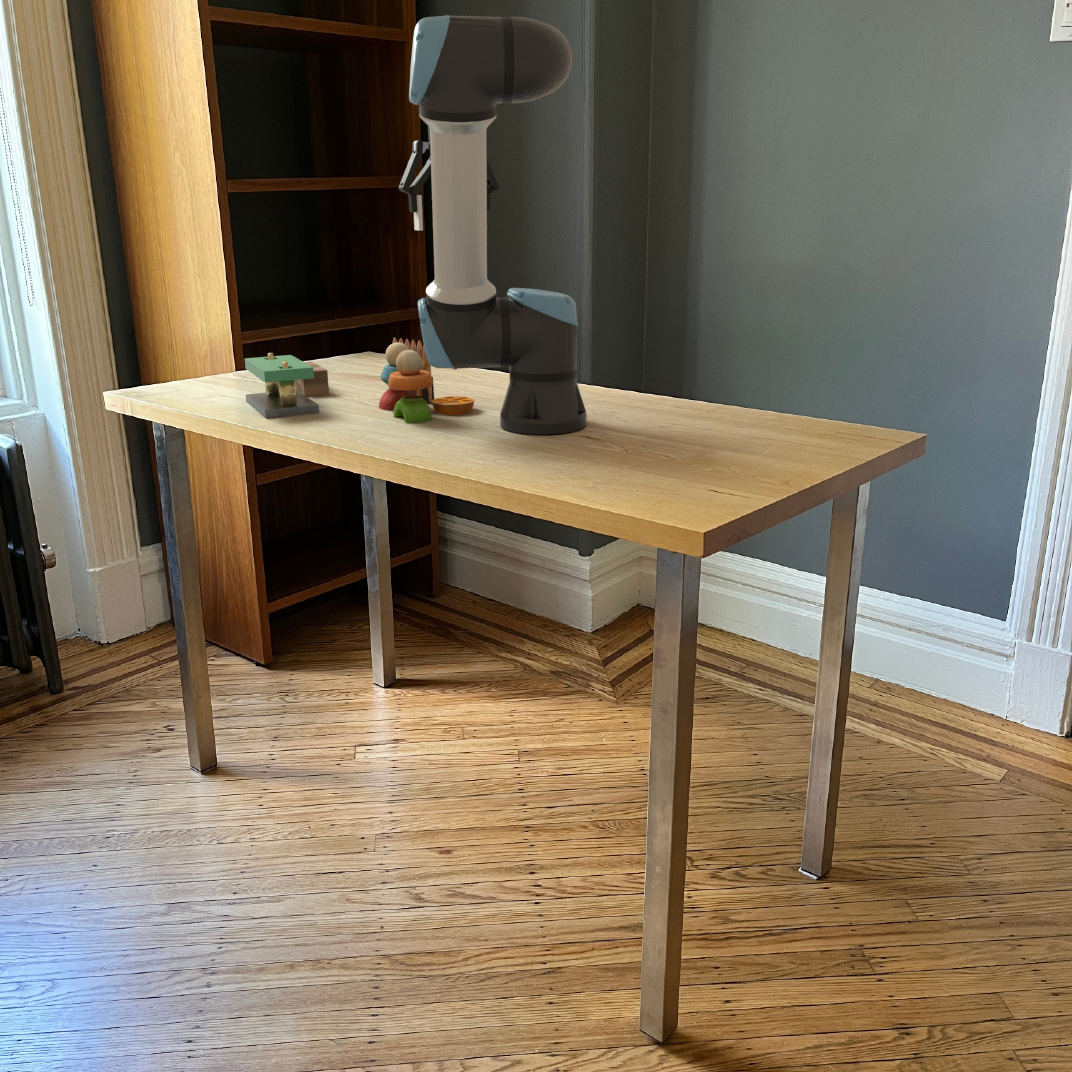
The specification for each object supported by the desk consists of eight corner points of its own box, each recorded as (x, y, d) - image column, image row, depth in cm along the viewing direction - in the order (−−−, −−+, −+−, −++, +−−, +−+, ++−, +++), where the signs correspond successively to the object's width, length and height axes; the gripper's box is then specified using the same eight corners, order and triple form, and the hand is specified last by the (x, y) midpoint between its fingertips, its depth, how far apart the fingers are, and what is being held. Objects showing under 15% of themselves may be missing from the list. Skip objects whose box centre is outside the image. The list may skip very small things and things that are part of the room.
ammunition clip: (435, 403, 203) (432, 340, 199) (428, 404, 201) (425, 342, 198) (398, 396, 209) (395, 336, 206) (391, 398, 208) (387, 337, 204)
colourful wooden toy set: (486, 413, 193) (484, 346, 189) (402, 425, 185) (398, 354, 181) (439, 398, 208) (437, 335, 204) (360, 408, 199) (355, 342, 195)
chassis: (319, 412, 195) (315, 361, 192) (265, 418, 191) (260, 366, 188) (296, 397, 209) (292, 349, 206) (246, 402, 205) (241, 353, 202)
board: (314, 378, 193) (313, 367, 192) (265, 382, 189) (264, 371, 188) (291, 365, 207) (290, 354, 207) (245, 368, 203) (244, 358, 203)
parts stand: (329, 394, 212) (327, 370, 210) (304, 397, 210) (302, 372, 208) (313, 385, 222) (311, 361, 220) (290, 387, 220) (288, 363, 218)
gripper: (498, 116, 209) (500, 227, 215) (378, 114, 198) (384, 230, 205) (514, 114, 202) (516, 228, 209) (391, 111, 192) (397, 231, 199)
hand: (451, 229), depth 207 cm, fingers open, 13 cm apart
